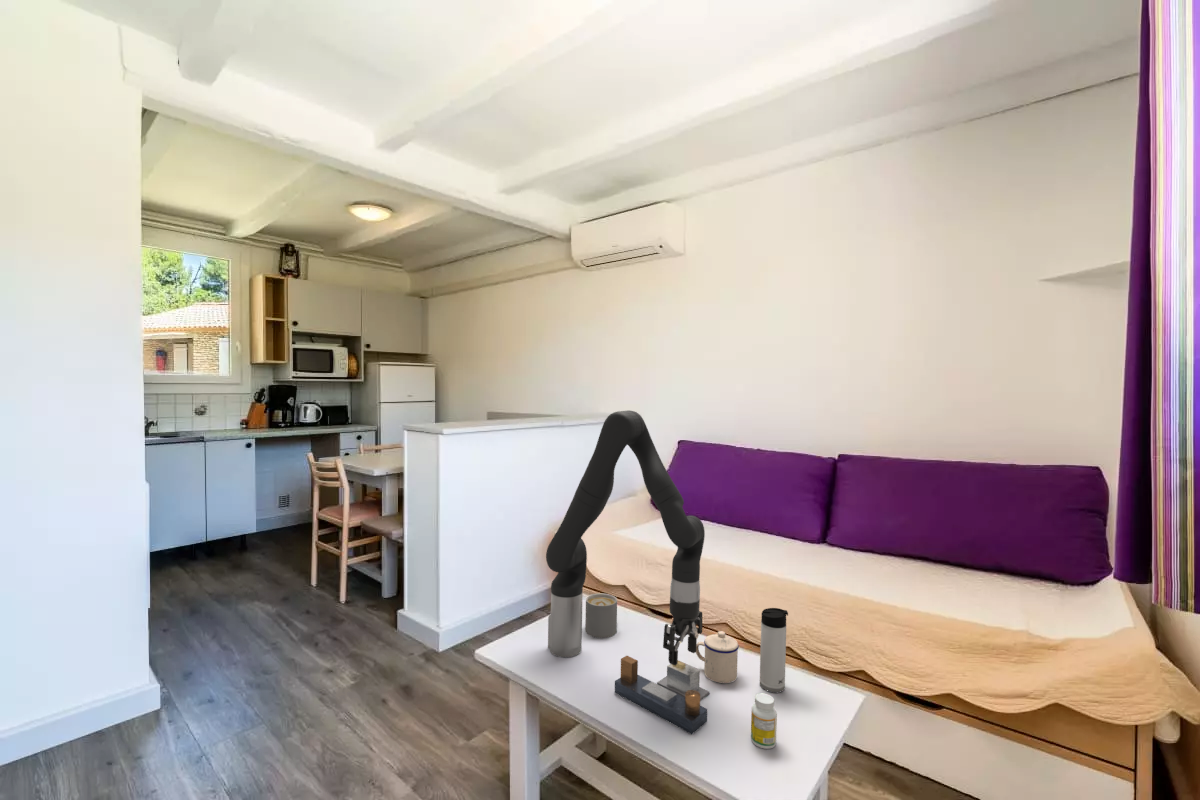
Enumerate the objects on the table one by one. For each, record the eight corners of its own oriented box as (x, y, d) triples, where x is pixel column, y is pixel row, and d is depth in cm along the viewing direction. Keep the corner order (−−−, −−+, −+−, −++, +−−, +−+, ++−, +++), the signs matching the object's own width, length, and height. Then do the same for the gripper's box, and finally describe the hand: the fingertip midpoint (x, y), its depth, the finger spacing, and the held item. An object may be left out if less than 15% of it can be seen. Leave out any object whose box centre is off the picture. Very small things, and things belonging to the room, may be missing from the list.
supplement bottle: (770, 753, 112) (771, 708, 112) (746, 742, 115) (747, 698, 115) (780, 740, 116) (781, 697, 116) (756, 730, 119) (757, 688, 119)
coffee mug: (601, 641, 160) (601, 608, 160) (578, 630, 167) (579, 599, 167) (630, 627, 170) (630, 596, 169) (607, 617, 176) (608, 588, 176)
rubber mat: (657, 684, 137) (657, 682, 137) (670, 675, 141) (670, 673, 141) (696, 704, 129) (696, 701, 129) (709, 693, 133) (709, 691, 133)
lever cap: (666, 685, 136) (667, 662, 136) (676, 678, 139) (677, 656, 139) (689, 696, 131) (690, 673, 131) (699, 689, 134) (699, 666, 134)
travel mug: (787, 694, 134) (789, 616, 133) (760, 691, 135) (762, 614, 134) (784, 681, 140) (786, 606, 139) (758, 678, 141) (760, 604, 140)
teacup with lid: (742, 673, 143) (743, 630, 143) (730, 688, 136) (731, 643, 136) (701, 659, 150) (702, 619, 150) (688, 673, 143) (688, 630, 143)
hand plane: (614, 692, 133) (615, 661, 133) (630, 682, 138) (631, 652, 138) (691, 734, 117) (692, 699, 117) (707, 721, 122) (707, 687, 122)
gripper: (688, 584, 142) (685, 643, 143) (656, 598, 132) (654, 662, 132) (712, 592, 137) (709, 653, 138) (681, 608, 127) (678, 674, 127)
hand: (682, 657), depth 135 cm, fingers open, 8 cm apart
